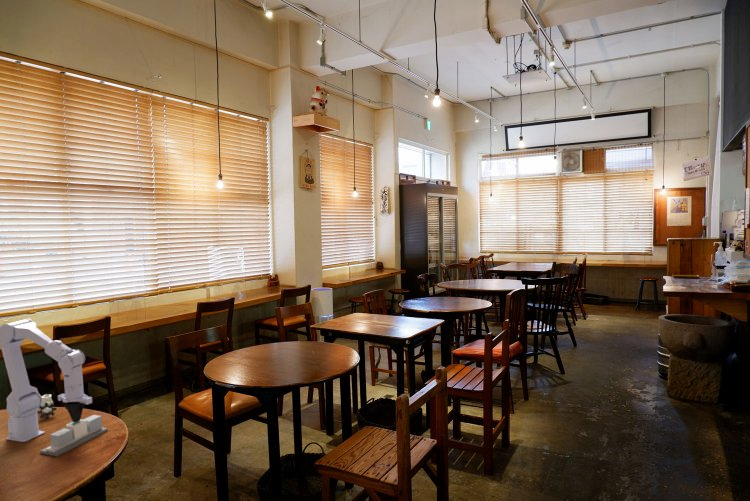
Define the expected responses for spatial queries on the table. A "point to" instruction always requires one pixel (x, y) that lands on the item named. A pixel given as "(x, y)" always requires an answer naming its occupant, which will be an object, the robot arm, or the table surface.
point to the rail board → (64, 438)
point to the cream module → (78, 428)
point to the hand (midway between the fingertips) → (76, 420)
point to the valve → (46, 406)
